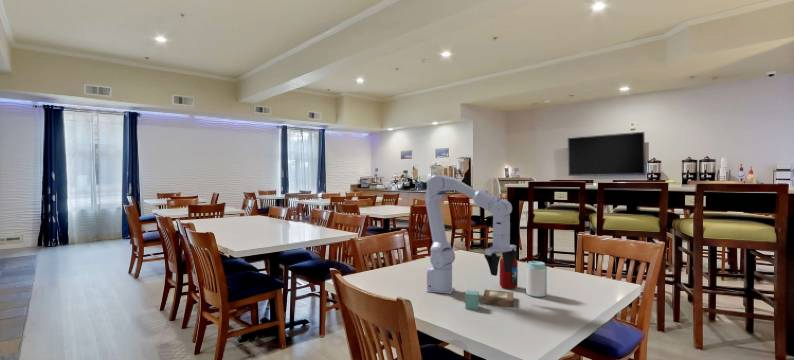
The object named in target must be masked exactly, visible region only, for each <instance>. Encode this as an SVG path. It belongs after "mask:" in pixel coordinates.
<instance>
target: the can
mask: <svg viewBox="0 0 794 360" xmlns="http://www.w3.org/2000/svg"><path fill="white" fill-rule="evenodd" d="M527 263H528V264H526V267H525V269H526V271H525V272H526V273H525V275H526V276H525V277H526V278H525V279H526V280H525V283H526V284H525V288H526V289H525V293H526V294H527V295H528V296H530V297H532V298H544V297H545V296H547V294H548V293H547V291H548V290H547V285H548V284H547V282H548V279H547V278H548V277H547V275H548V273H547V272H548V269H547V266H546V263H545V262H543V261H539V260H536V261H535V260H532V261H531V260H530V261H528V262H527Z"/></svg>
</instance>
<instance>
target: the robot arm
mask: <svg viewBox="0 0 794 360" xmlns="http://www.w3.org/2000/svg"><path fill="white" fill-rule="evenodd" d="M452 190H453V191H455V192H458V193H460V194H463V195H465V196H467V197H469V198H471V199H472V201H473V203H474V204H475V205H477V206H478V207H480V208H482V209H485V210H486V211H488V212H490V213H491V215H492V217H493V218H492V246H490V247H488V248H485V249H484V250H485V252H484V256H483V257H484V258H485V260H486V262H487V265H488V268H489V272H490V275H491V276H495V277H496V276H498V274H499V273H498V272H499V271H498V270H499V265H500V260H501V258H502V256H503V260H504V270H505V272H509V273H510V272H511V269H512V265H513V262H514V260H515V258H516V259H517V256H518V251H517V245H515V244H511V242H510V241H511V222H510V220H511V215H510V214H511V213H512V212H513V206H512V203H511V202H510V201H508V199H501V197H500V196H495V195H494V194H492V193H490V190H488V189H479V190H477V189H475V188H473V187H471V186H470V185H468V184H466V183H465V182H463V181H461V180H459V179H457V178H455V177H453V176H451V175H449V174H444V175H441V174H440V175H438V174H434V175H431V177H429V179H428V180H427V181H426V190H425V194H424V201H425V207H426V213H427V218H428V223H429V228H430V234H431V239H432V244H431V246H430V249H429V250H430V255H429V262H430V264H431V265H430V266H429V265H428V267H427V269H426V292H427V293H438V294H439V293H441V294H453V292H454V290H455V286H453V263H454V262H455V260H456V254H455V252H454V250H453V249H452V246H451V243H450V242H449V241H448V239H447V234H446V229H445V228H446V227H445V224H444V223H445V222H444V218H443V214H442V213H443V212H442V208H441V207H442V206H441V204H440V203H441V201H440V200H441V199H442V198H443V197H444V195H445V194H446V193H448V192H450V191H452ZM497 254H501V256H500V255H497Z"/></svg>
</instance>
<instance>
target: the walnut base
mask: <svg viewBox="0 0 794 360" xmlns="http://www.w3.org/2000/svg"><path fill="white" fill-rule="evenodd" d="M482 304H483V305H493V306H504V307H514V292H513V291H503V290H491V289H484V292H483V296H482Z"/></svg>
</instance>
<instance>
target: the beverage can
mask: <svg viewBox="0 0 794 360" xmlns="http://www.w3.org/2000/svg"><path fill="white" fill-rule="evenodd" d="M518 265H519V264H518V260H517V257H516V258H515V260H514V262H513V265H512V269H511V272H510V273H509V272H505V270H504V260H503V255H501V258H500V260H499V286H500V287H501V288H502V289H504V290H514V289H516V288H517V287H518V280H519V279H518V278H519V276H518V272H519V271H518Z"/></svg>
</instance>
